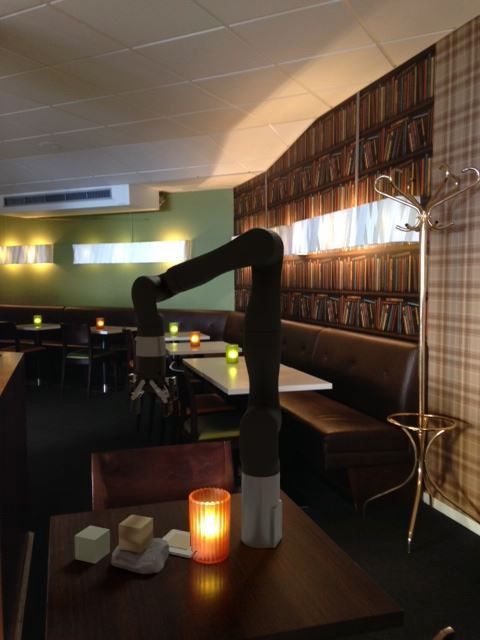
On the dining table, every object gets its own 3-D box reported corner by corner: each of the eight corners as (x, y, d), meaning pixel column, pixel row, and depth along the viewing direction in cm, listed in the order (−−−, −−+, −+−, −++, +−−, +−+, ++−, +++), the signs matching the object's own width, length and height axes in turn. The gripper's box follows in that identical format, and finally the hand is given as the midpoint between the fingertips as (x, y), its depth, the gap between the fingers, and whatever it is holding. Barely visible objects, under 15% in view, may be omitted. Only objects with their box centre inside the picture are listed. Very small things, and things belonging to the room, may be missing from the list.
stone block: (159, 583, 113) (172, 551, 122) (157, 565, 112) (170, 534, 121) (107, 580, 115) (123, 549, 124) (104, 562, 114) (121, 532, 123)
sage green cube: (109, 552, 122) (109, 529, 122) (95, 564, 117) (94, 540, 117) (90, 547, 124) (90, 525, 124) (75, 559, 119) (74, 535, 119)
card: (208, 538, 129) (208, 535, 129) (190, 558, 120) (190, 554, 120) (172, 531, 133) (172, 528, 132) (152, 550, 123) (152, 546, 123)
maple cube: (153, 541, 120) (152, 518, 120) (140, 553, 115) (140, 528, 115) (132, 537, 122) (131, 514, 122) (118, 548, 117) (118, 524, 116)
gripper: (182, 352, 137) (182, 414, 138) (135, 350, 142) (135, 409, 143) (168, 356, 130) (168, 421, 131) (119, 353, 135) (120, 416, 136)
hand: (151, 415), depth 137 cm, fingers open, 8 cm apart
